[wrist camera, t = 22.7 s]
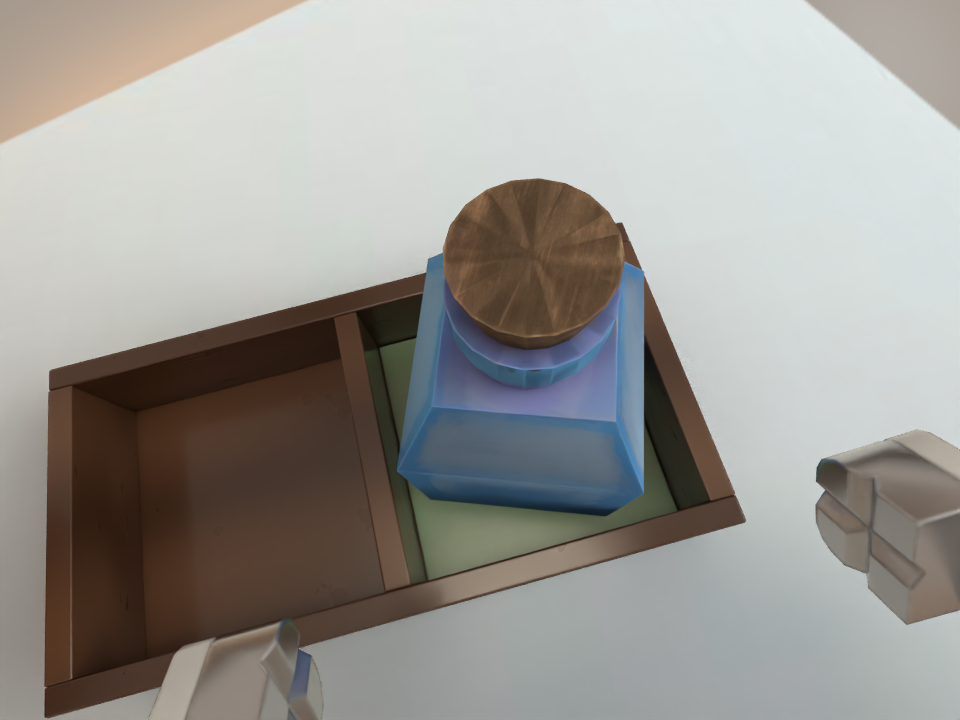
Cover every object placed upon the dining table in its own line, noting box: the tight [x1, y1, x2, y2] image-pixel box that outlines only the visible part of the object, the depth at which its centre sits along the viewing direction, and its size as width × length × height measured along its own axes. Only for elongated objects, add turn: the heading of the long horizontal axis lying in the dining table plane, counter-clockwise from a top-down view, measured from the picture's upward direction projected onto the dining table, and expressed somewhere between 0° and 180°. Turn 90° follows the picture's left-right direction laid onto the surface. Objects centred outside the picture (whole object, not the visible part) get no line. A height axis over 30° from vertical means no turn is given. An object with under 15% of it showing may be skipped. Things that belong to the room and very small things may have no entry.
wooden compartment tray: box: [44, 223, 746, 718], centre depth 20 cm, size 11×20×4 cm, turn 105°
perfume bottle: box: [397, 178, 644, 516], centre depth 16 cm, size 6×6×12 cm
